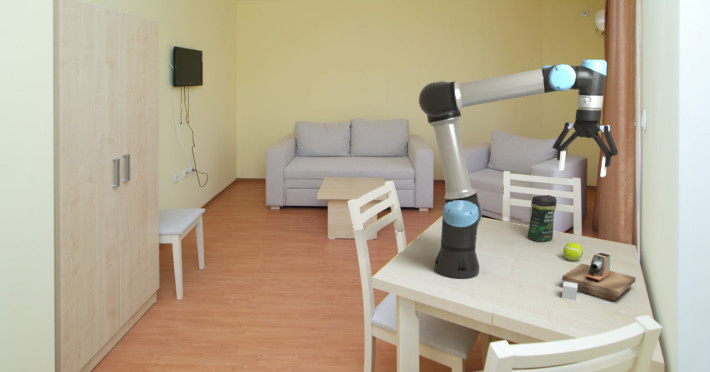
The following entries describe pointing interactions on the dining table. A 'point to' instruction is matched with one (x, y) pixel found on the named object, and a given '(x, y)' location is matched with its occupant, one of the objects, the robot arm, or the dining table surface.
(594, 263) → the electronic device
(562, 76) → the robot arm
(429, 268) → the dining table surface
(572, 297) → the grey block
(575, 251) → the tennis ball
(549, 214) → the coffee jar
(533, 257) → the dining table surface
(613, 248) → the dining table surface
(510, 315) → the dining table surface
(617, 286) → the stand
